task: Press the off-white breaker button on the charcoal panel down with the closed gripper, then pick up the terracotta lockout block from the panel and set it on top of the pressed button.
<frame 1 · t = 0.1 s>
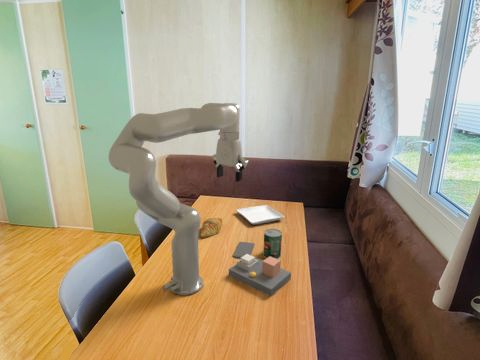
hand: (229, 178, 125), 37 cm above the table, tool pointing down, fingers open, 9 cm apart
smartphone: (244, 251, 143), on the table
breaker button: (247, 259, 125), point 6 cm above the table, slide at 0.0 cm
croissant: (211, 231, 163), on the table
canned tomato: (271, 255, 140), on the table
lockout block: (271, 272, 121), point 3 cm above the table, touching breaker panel
salad plate: (259, 218, 181), on the table
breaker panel: (259, 277, 123), on the table
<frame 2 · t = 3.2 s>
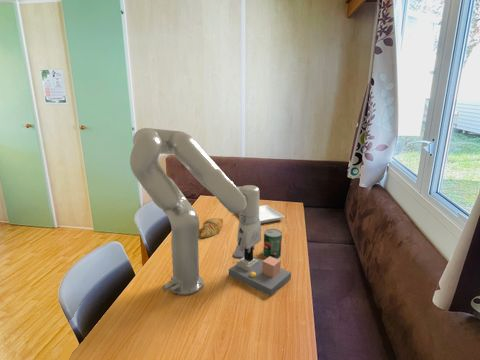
hand: (248, 259, 125), 6 cm above the table, tool pointing down, fingers closed
breaker button: (247, 262, 125), point 5 cm above the table, slide at 1.1 cm, touching gripper
everything else where it was.
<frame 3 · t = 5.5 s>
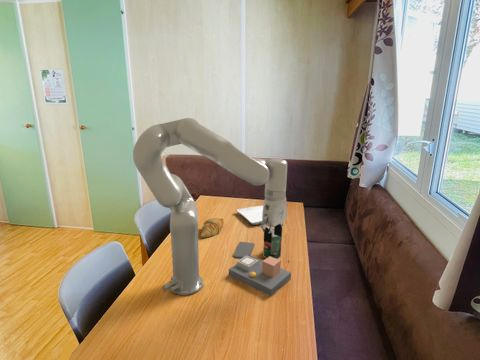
hand: (272, 238, 117), 18 cm above the table, tool pointing down, fingers open, 6 cm apart
breaker button: (247, 263, 125), point 4 cm above the table, slide at 1.5 cm
everything else where it was.
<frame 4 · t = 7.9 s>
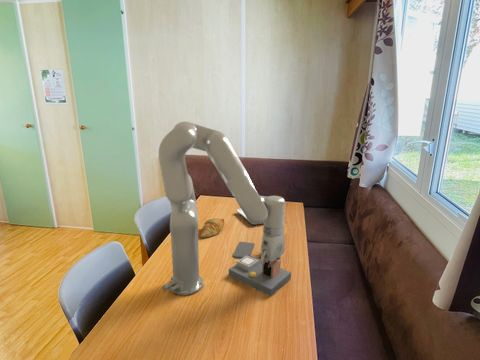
hand: (271, 271, 121), 3 cm above the table, tool pointing down, fingers closed on lockout block, 4 cm apart
lockout block: (271, 272, 121), point 3 cm above the table, touching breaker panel, gripper
everything else where it was.
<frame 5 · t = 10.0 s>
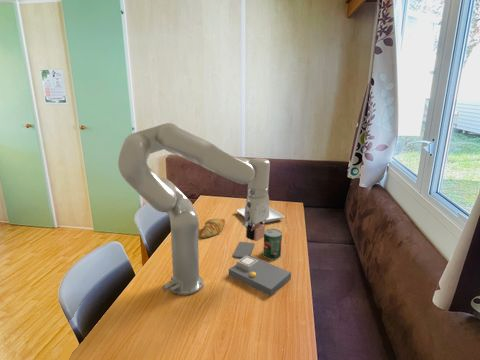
hand: (254, 236, 120), 17 cm above the table, tool pointing down, fingers closed on lockout block, 4 cm apart
lockout block: (254, 237, 120), point 16 cm above the table, touching gripper
when the fingers open (7 cm above the table, at t = 12.6 s): lockout block drops 1 cm, resting on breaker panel.
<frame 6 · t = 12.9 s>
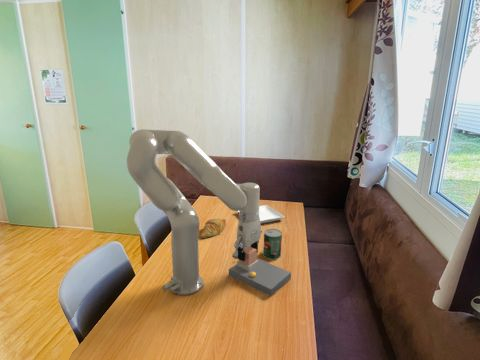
hand: (247, 255, 124), 7 cm above the table, tool pointing down, fingers open, 7 cm apart
breaker button: (247, 263, 125), point 4 cm above the table, slide at 1.6 cm, touching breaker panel
lockout block: (247, 260, 125), point 5 cm above the table, touching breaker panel
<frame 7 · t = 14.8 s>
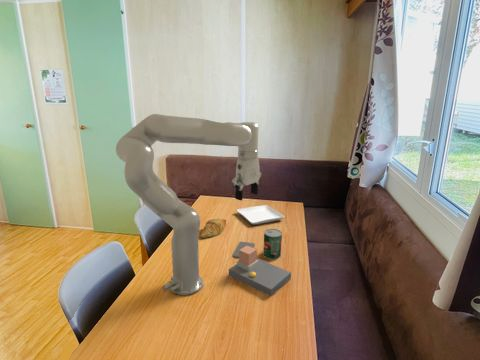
hand: (246, 196, 125), 30 cm above the table, tool pointing down, fingers open, 9 cm apart
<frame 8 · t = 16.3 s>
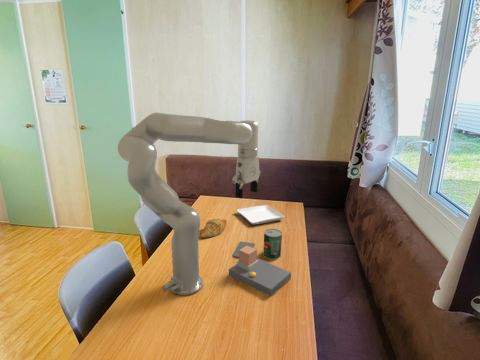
hand: (246, 194, 126), 30 cm above the table, tool pointing down, fingers open, 9 cm apart
at the end: breaker button slide at 1.6 cm; lockout block 0.0 cm from the target spot, point 5.0 cm above the table; lockout block tilted 0° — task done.
